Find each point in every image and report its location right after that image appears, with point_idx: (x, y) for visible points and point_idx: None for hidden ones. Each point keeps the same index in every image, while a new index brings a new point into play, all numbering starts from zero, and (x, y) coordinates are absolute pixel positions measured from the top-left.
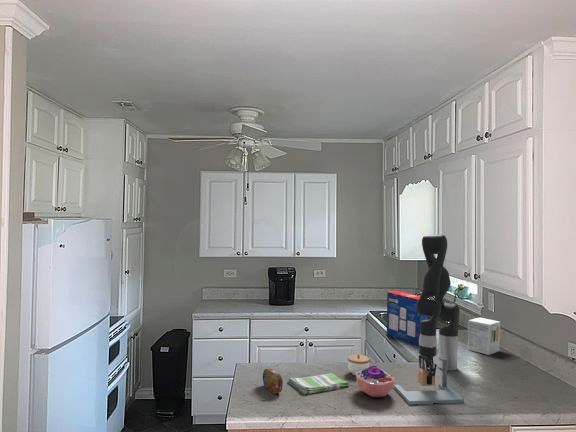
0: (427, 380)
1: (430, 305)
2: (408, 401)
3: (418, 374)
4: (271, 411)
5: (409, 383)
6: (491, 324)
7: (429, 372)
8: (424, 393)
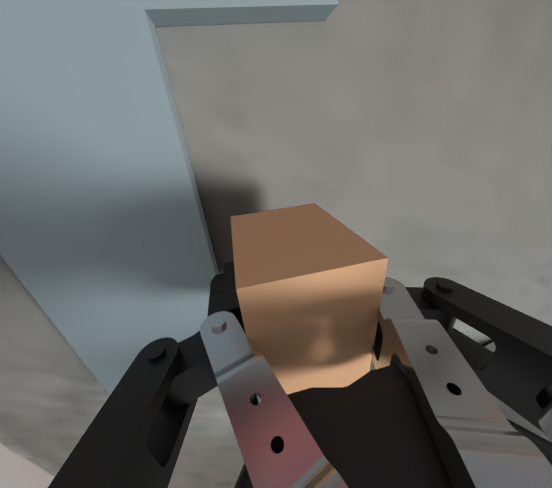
0: (225, 282)
1: None
2: None
3: (341, 228)
4: None
5: (390, 158)
6: None
7: (135, 395)
8: (138, 203)
